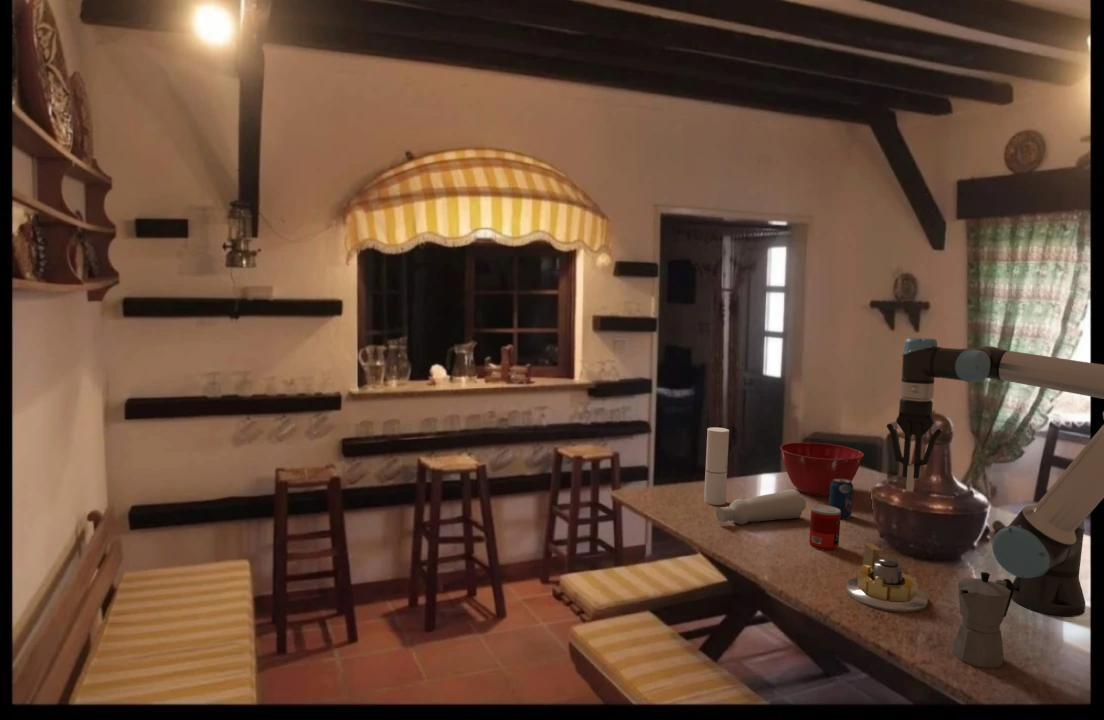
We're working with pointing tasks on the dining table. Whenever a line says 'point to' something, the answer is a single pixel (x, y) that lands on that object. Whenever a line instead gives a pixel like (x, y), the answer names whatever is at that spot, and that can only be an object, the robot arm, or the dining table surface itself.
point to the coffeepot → (982, 620)
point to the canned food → (825, 527)
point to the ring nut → (883, 579)
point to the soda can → (841, 496)
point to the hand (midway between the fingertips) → (909, 489)
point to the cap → (893, 576)
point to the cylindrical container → (716, 466)
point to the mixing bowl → (819, 465)
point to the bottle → (763, 508)
